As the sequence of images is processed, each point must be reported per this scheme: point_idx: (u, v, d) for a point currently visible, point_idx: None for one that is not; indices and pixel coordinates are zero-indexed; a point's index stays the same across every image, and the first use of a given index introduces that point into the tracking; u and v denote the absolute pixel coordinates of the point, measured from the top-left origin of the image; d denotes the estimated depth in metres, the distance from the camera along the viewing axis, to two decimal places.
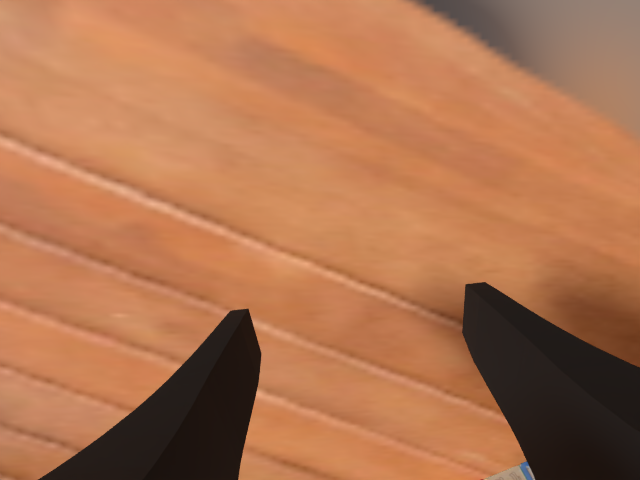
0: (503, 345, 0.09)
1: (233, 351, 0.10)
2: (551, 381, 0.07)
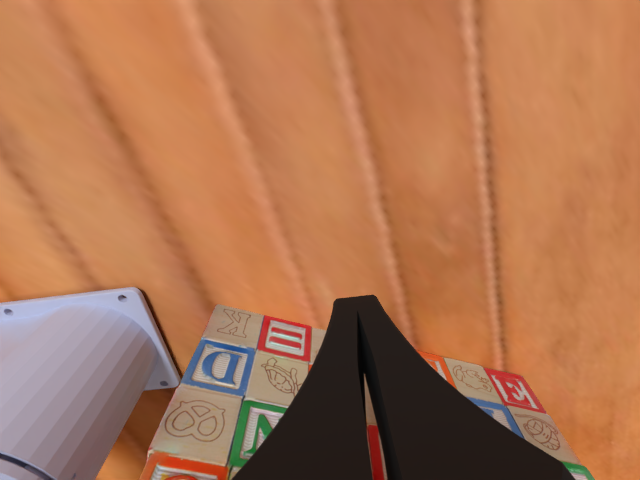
0: (368, 359, 0.09)
1: (358, 338, 0.09)
2: (381, 397, 0.07)
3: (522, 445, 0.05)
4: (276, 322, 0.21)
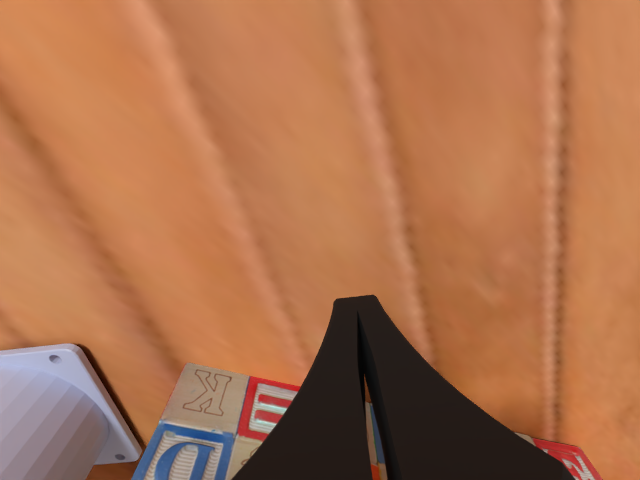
0: (368, 359, 0.09)
1: (358, 338, 0.09)
2: (381, 397, 0.07)
3: (522, 445, 0.05)
4: (265, 386, 0.16)
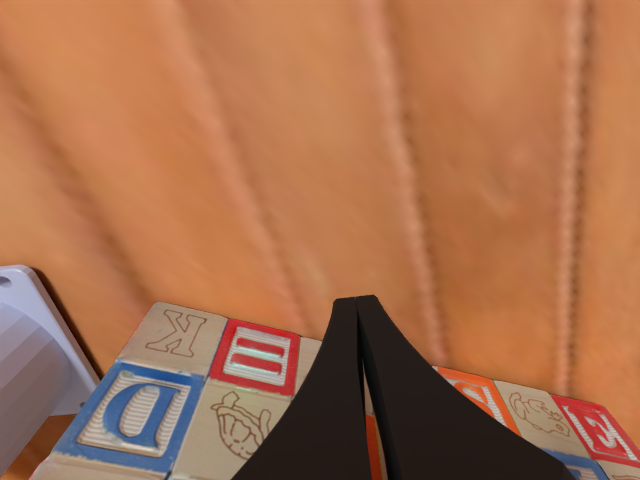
0: (368, 359, 0.09)
1: (358, 338, 0.09)
2: (381, 397, 0.07)
3: (523, 445, 0.05)
4: (246, 330, 0.14)
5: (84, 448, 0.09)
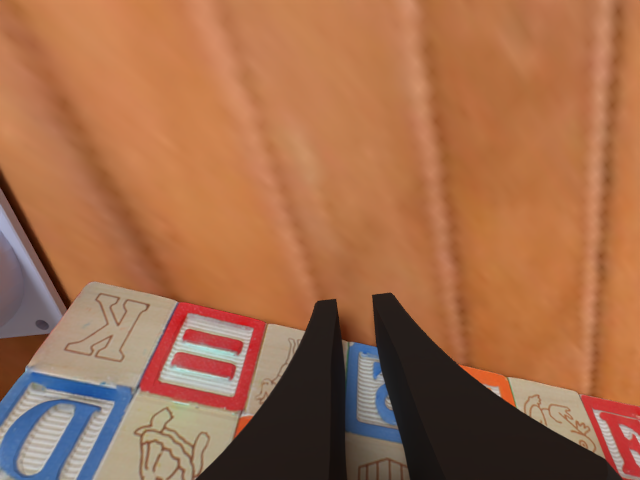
0: (389, 356, 0.09)
1: (336, 340, 0.09)
2: (407, 394, 0.07)
3: (562, 441, 0.05)
4: (198, 317, 0.11)
5: None
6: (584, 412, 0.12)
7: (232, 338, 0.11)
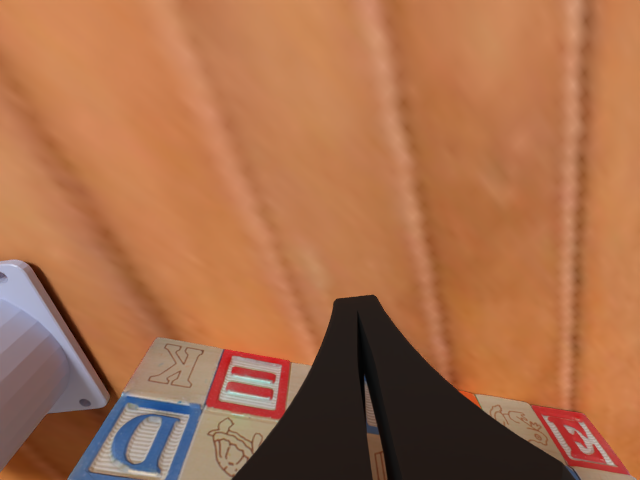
0: (368, 359, 0.09)
1: (358, 338, 0.09)
2: (381, 397, 0.07)
3: (522, 445, 0.05)
4: (240, 358, 0.15)
5: (95, 476, 0.10)
6: (535, 416, 0.16)
7: (267, 372, 0.15)
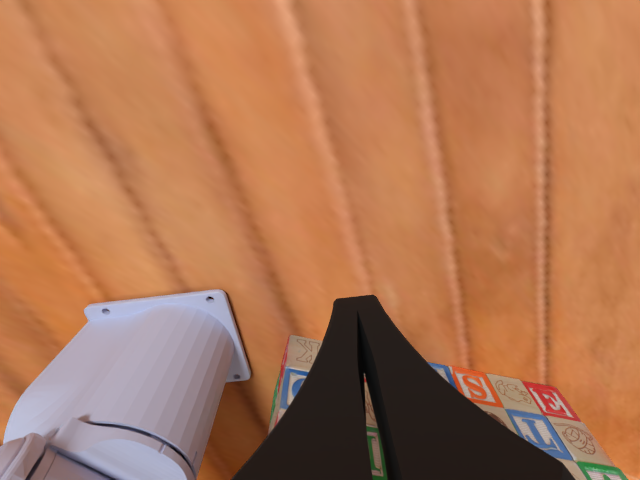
0: (368, 359, 0.09)
1: (358, 338, 0.09)
2: (381, 397, 0.07)
3: (522, 445, 0.05)
4: None
5: None
6: (524, 387, 0.25)
7: None
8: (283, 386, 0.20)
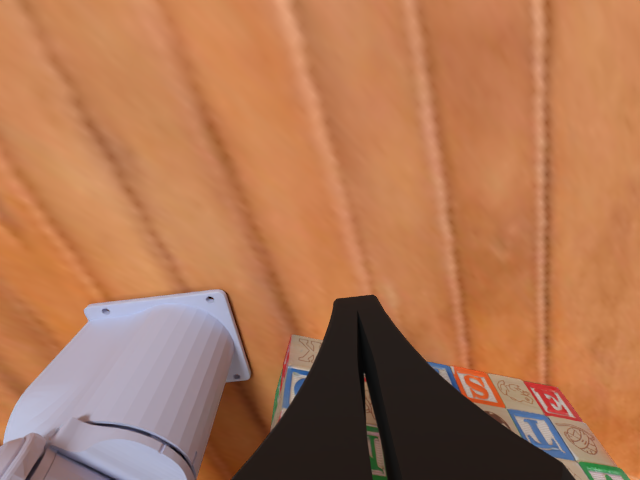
0: (368, 359, 0.09)
1: (358, 338, 0.09)
2: (381, 397, 0.07)
3: (522, 445, 0.05)
4: None
5: None
6: (526, 387, 0.25)
7: None
8: (285, 386, 0.20)
